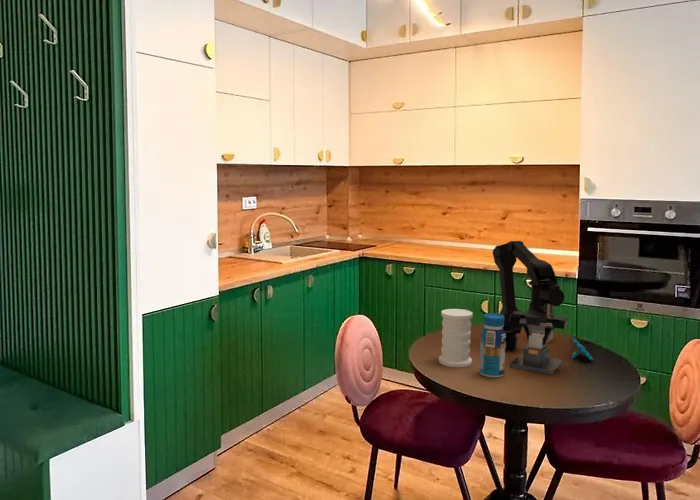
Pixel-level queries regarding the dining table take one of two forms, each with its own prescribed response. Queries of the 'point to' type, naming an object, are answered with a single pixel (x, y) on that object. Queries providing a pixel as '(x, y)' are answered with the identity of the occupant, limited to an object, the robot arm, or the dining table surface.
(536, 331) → the coffee box
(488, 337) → the beverage bottle
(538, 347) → the block
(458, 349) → the decorative container
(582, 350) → the blue angular plastic piece
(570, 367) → the dining table surface
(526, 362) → the stand
